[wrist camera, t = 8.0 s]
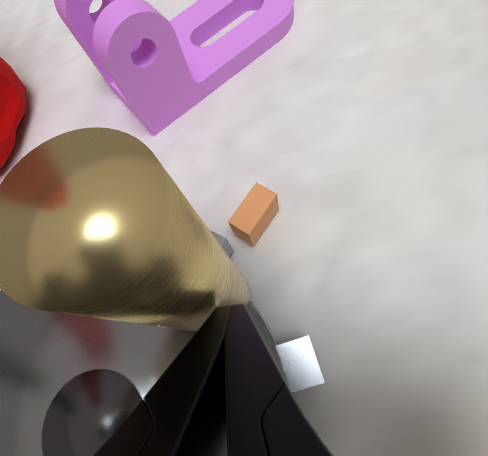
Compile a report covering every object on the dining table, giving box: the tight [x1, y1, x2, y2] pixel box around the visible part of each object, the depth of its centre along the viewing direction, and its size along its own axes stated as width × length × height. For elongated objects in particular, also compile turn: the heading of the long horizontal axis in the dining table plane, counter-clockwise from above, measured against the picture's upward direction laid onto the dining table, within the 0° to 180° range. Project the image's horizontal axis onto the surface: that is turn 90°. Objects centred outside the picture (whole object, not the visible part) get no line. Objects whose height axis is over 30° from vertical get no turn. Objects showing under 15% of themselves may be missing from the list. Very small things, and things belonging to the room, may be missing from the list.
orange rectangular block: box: [228, 183, 279, 246], centre depth 17 cm, size 2×1×2 cm, turn 146°
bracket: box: [54, 0, 293, 136], centre depth 19 cm, size 13×6×7 cm, turn 130°
